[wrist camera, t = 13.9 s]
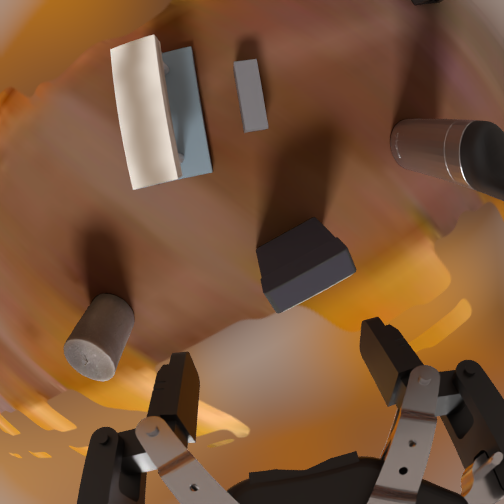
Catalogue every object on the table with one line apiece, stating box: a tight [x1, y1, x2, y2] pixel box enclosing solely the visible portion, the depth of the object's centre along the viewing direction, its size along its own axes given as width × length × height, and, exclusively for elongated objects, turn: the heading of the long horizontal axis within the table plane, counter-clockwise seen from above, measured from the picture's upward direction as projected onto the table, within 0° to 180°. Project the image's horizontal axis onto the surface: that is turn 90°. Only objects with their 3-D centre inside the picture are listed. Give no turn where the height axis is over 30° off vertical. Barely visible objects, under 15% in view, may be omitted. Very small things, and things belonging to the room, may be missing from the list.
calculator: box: [256, 217, 356, 313], centre depth 39 cm, size 11×4×15 cm, turn 119°
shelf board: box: [110, 35, 183, 190], centre depth 27 cm, size 6×18×3 cm, turn 9°
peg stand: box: [139, 46, 213, 189], centre depth 33 cm, size 12×20×8 cm, turn 9°
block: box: [234, 59, 268, 133], centre depth 34 cm, size 3×10×5 cm, turn 9°
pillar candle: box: [64, 294, 134, 381], centre depth 42 cm, size 10×10×15 cm
